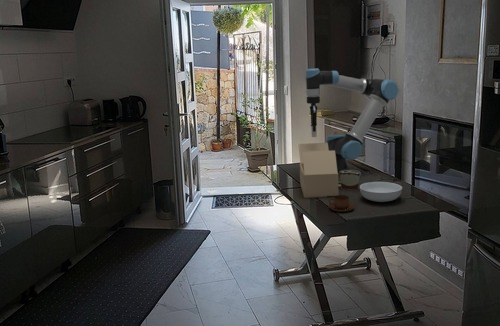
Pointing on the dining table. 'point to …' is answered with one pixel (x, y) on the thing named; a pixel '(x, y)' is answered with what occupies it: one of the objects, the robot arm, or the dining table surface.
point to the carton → (318, 184)
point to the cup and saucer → (341, 203)
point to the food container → (349, 179)
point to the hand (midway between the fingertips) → (314, 136)
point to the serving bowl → (380, 191)
